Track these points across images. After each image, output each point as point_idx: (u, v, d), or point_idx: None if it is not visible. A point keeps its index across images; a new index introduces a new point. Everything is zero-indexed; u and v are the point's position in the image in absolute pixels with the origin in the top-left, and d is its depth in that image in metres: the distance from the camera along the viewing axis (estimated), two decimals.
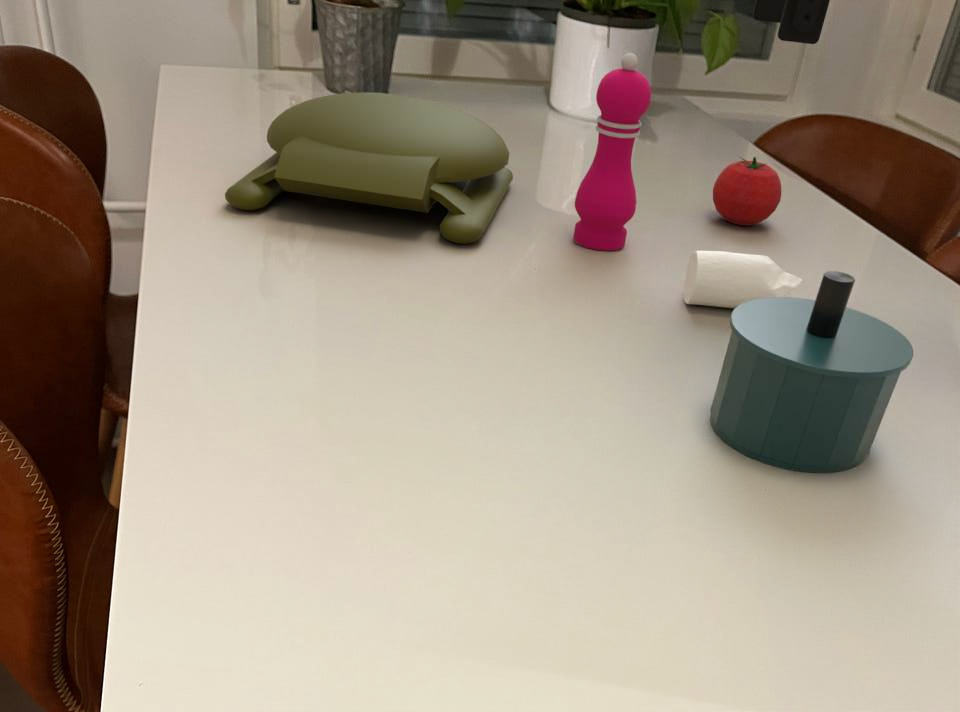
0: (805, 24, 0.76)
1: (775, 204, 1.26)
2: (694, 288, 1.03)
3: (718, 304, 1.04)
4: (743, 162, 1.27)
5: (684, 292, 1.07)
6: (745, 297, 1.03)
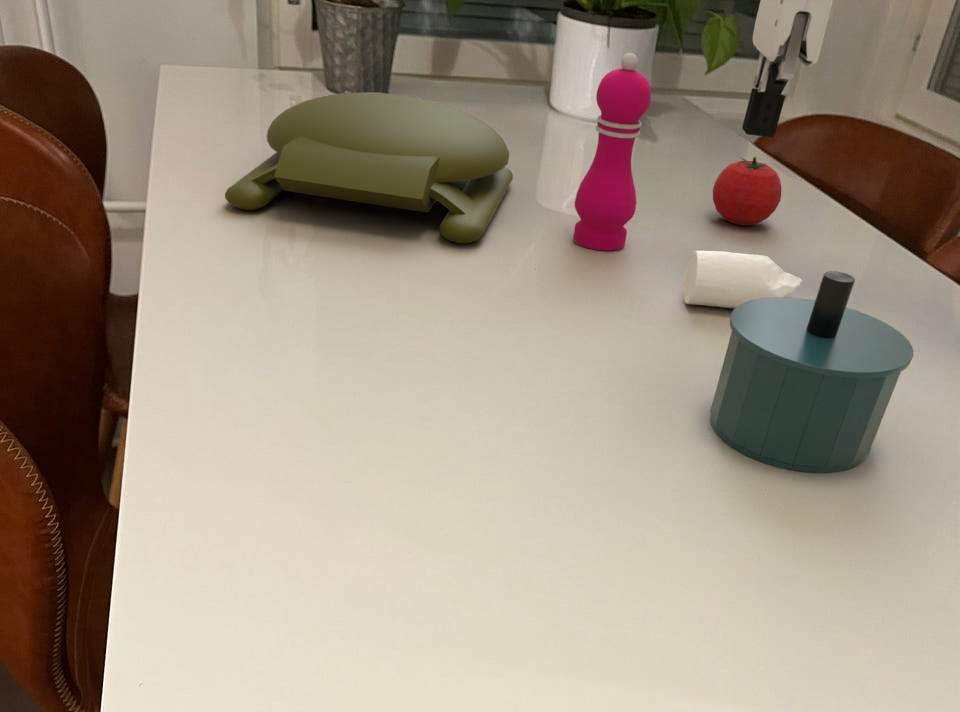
0: (764, 123, 1.02)
1: (775, 204, 1.26)
2: (694, 288, 1.03)
3: (718, 304, 1.04)
4: (743, 162, 1.27)
5: (684, 292, 1.07)
6: (745, 297, 1.03)
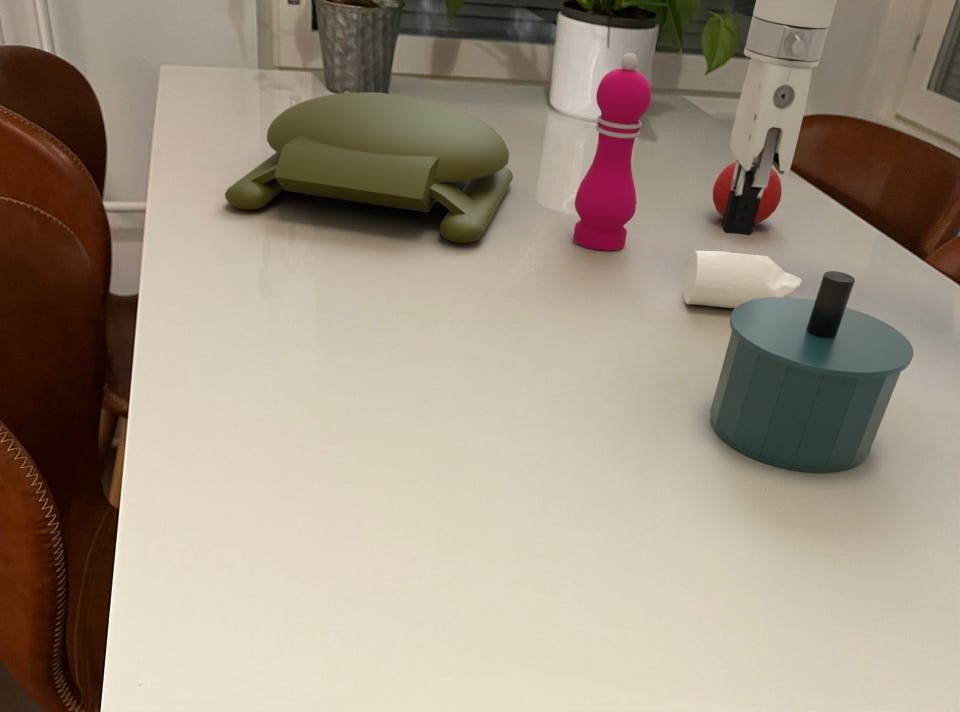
0: (741, 223, 1.08)
1: (775, 204, 1.26)
2: (694, 288, 1.03)
3: (718, 304, 1.04)
4: None
5: (684, 292, 1.07)
6: (745, 297, 1.03)
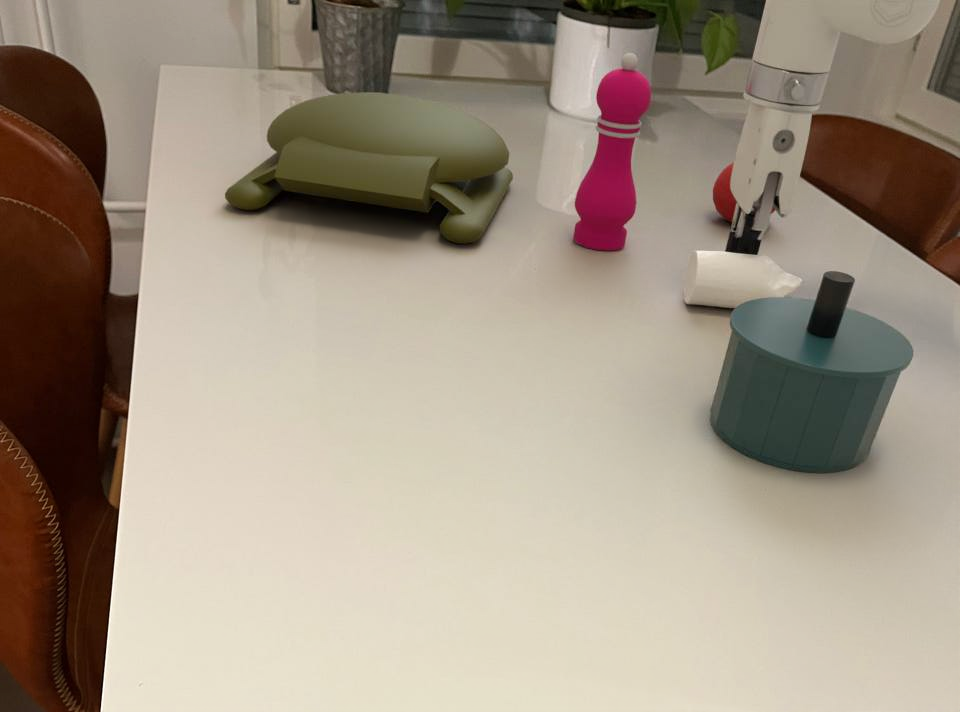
0: None
1: None
2: (694, 288, 1.03)
3: (718, 304, 1.04)
4: None
5: (684, 292, 1.07)
6: (745, 297, 1.03)
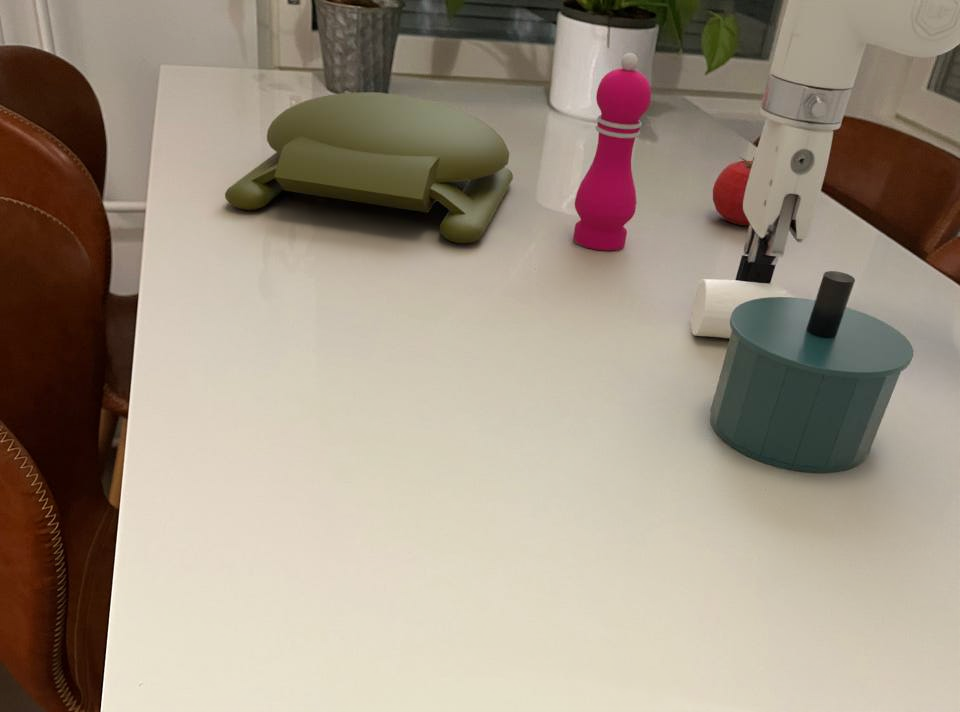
0: None
1: None
2: (702, 319, 0.96)
3: (728, 336, 0.98)
4: (743, 162, 1.27)
5: (691, 322, 1.01)
6: None
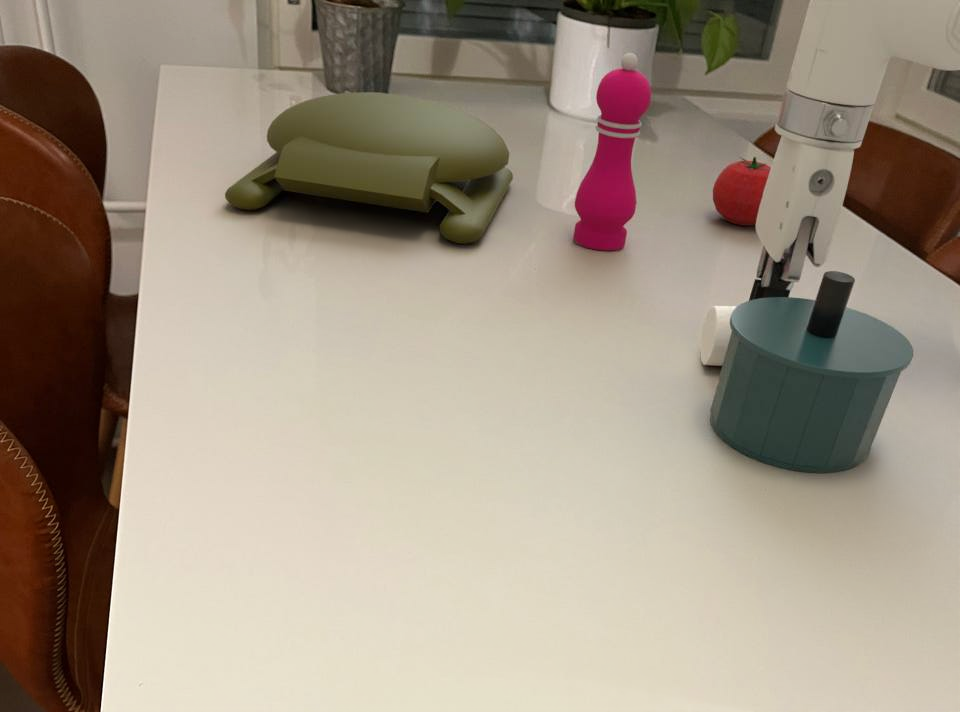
0: None
1: None
2: (713, 349, 0.91)
3: None
4: (743, 162, 1.27)
5: (701, 350, 0.95)
6: None
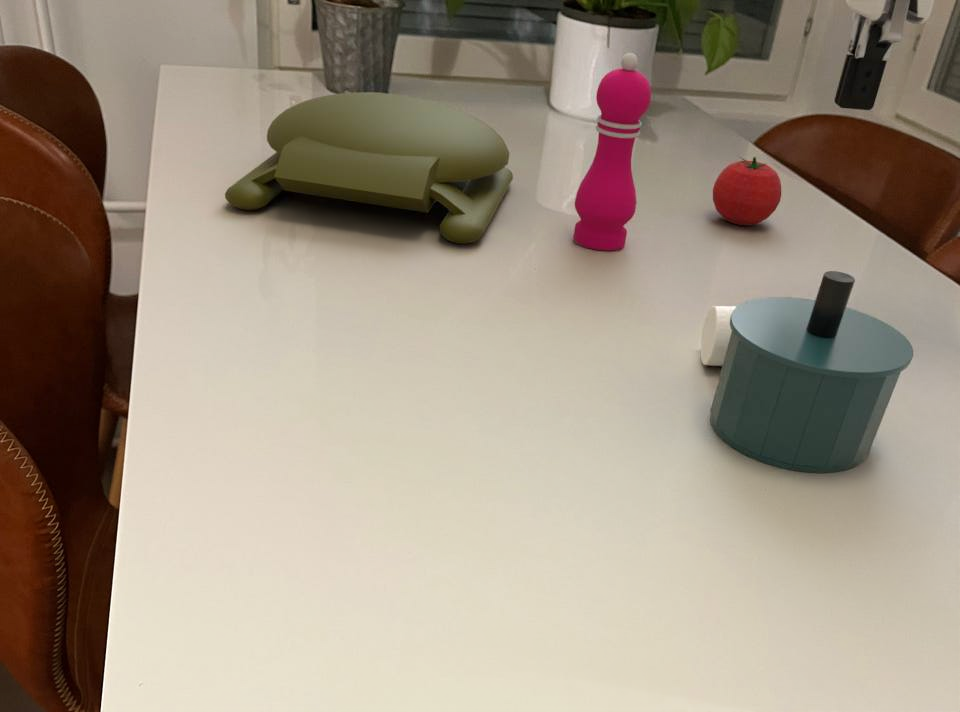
0: (862, 94, 0.88)
1: (775, 204, 1.26)
2: (713, 349, 0.91)
3: None
4: (743, 162, 1.27)
5: (701, 351, 0.95)
6: None
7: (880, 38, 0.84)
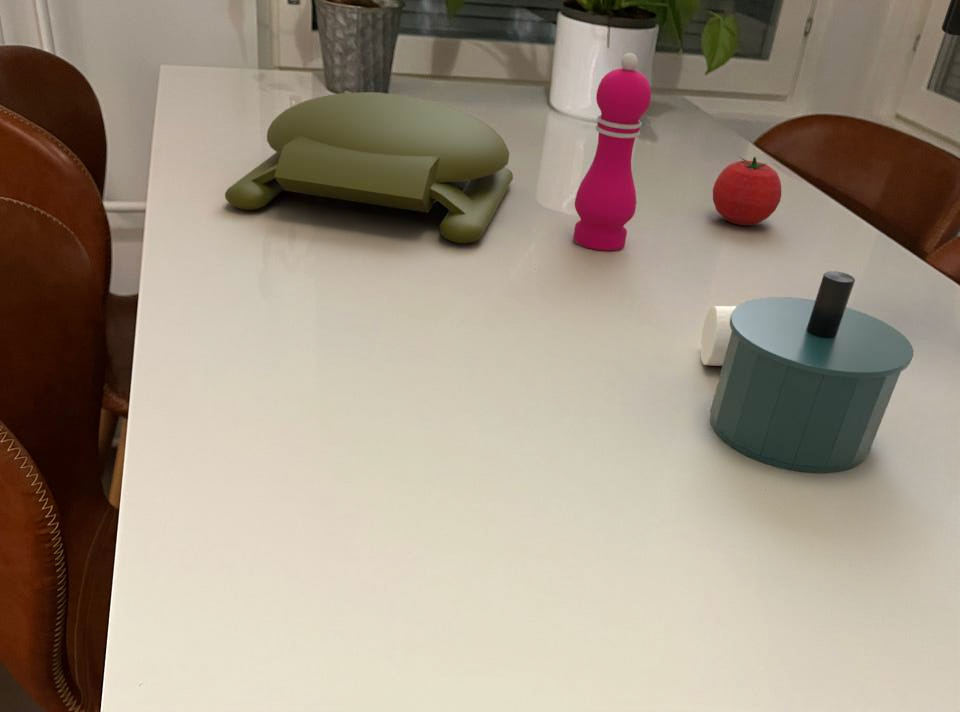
0: None
1: (775, 204, 1.26)
2: (713, 349, 0.91)
3: None
4: (743, 162, 1.27)
5: (701, 350, 0.95)
6: None
7: None
